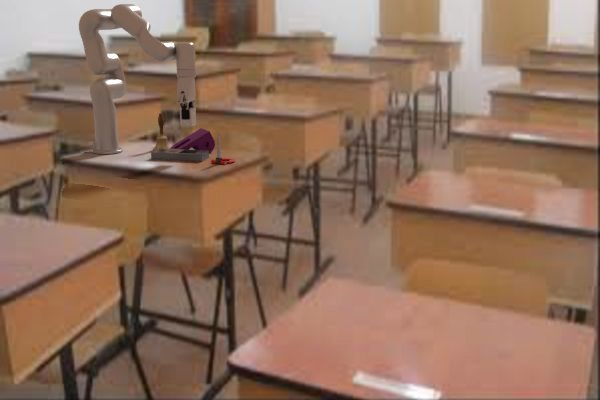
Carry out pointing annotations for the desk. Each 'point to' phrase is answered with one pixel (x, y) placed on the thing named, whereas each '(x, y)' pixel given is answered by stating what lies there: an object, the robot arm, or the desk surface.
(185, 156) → the grey tray
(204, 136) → the mounting bracket
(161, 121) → the hand bell
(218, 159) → the red scissors
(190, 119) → the white cylinder
